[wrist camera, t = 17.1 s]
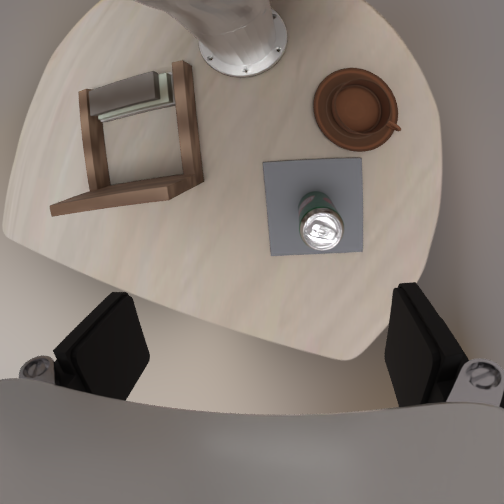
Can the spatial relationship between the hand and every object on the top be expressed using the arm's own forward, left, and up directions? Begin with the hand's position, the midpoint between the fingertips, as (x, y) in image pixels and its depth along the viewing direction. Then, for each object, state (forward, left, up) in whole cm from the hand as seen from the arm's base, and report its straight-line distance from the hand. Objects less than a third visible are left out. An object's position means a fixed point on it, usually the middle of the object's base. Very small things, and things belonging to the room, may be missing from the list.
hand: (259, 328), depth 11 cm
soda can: (+4, +4, -36) cm, 36 cm away
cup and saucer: (-10, +11, -37) cm, 40 cm away
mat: (+4, +4, -36) cm, 37 cm away
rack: (-10, -21, -36) cm, 43 cm away
